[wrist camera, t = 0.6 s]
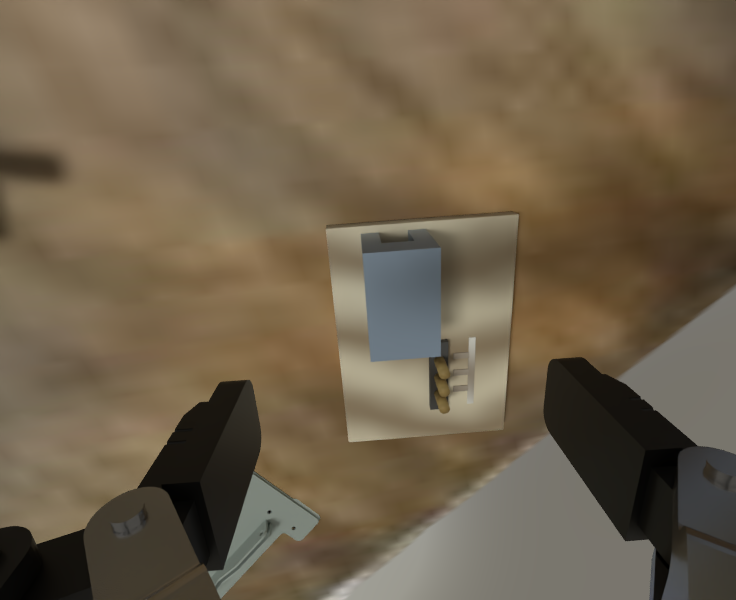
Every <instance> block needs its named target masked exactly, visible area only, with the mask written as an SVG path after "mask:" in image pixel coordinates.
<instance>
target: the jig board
mask: <svg viewBox="0 0 736 600" xmlns="http://www.w3.org/2000/svg"><path fill="white" fill-rule="evenodd" d="M518 219H519V214H517V213H515V212H513V211H510V212H497V213H484V214H470V215H457V216H444V217H431V218H418V219H404V220H391V221H378V222H365V223H352V224H338V225H327V226H326V236H327V245H328V254H329V263H330V273H331V282H332V291H333V300H334V310H335V319H336V328H337V337H338V346H339V356H340V365H341V374H342V383H343V393H344V402H345V411H346V420H347V430H348V439H349V442H357V441H369V440H382V439H394V438H406V437H419V436H431V435H443V434H456V433H468V432H480V431H493V430H503V427H504V413H505V399H506V385H507V371H508V358H509V344H510V330H511V316H512V302H513V288H514V274H515V260H516V247H517V233H518ZM417 229H426V230H427V231H428V232H429V234H430V235H431V236H432V237H433V239H434V240H435V241H436V242H437V243H438V245H439V246H440V247H441V357H428V358H416V359H403V360H390V361H378V362H371V359H370V348H369V336H368V324H367V311H366V298H365V285H364V272H363V258H362V245H361V234H364V233H377V232H378V233H379V236H380V240H381V243H391V242H404V241H408V230H417Z"/></svg>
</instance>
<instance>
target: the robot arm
mask: <svg viewBox="0 0 736 600" xmlns="http://www.w3.org/2000/svg"><path fill="white" fill-rule="evenodd" d="M544 419H545V423H546V426H547V429H548V431H549V432H550V434H551V435H552V437H553V438H554V440H555V441H556V442H557V444H558V445H559V447H560V448H561V450H562V451H563V453H564V454H565V455H566V457H567V458H568V459H569V461H570V462H571V464H572V465H573V467H574V468H575V470H576V471H577V473H578V474H579V475H580V477H581V478H582V480H583V481H584V483H585V484H586V485H587V487H588V488H589V490H590V491H591V493H592V494H593V496H594V497H595V498H596V500H597V501H598V503H599V504H600V505H601V507H602V508H603V510H604V511H605V513H606V514H607V515H608V517H609V518H610V520H611V521H612V523H613V524H614V526H615V527H616V529H617V530H618V531H619V533H620V534H621V536H622V537H623V539H624V540H625V541H634V540H646V539H649V540H650V542H651V543H652V544H653V546H654V547H655V549H654V552H653V556H652V564H651V580H650V599H649V600H736V455H735V454H733V453H730V452H727V451H724V450H720V449H716V448H711V447H703V446H702V447H701V446H697V445H696V444H695V443H694V442H693V441H691V440H690V439H689V438H688V437H687V436H686V435H684V434H683V433H682V432H681V431H680V430H679V429H677V428H676V427H675V426H674V425H673V424H672V423H670V422H669V421H668V420H667V419H666V418H664V417H663V416H662V415H661V414H660V413H659V412H658V411H656V410H655V411H654V410H653V407H652V406H651V405H649V404H648V403H647V402H646V401H645V400H641V398H640V396H639V395H638V394H637V393H635V392H634V391H633V390H632V389H631V388H630V387H628V386H627V385H626V384H624V383H622V382H620V381H618V380H616V379H614V378H612V377H610V376H608V375H606V374H601V373H600V372H599V371H598V370H597V369H596V368H594V367H593V366H592V365H591V364H590V363H589V362H588V361H587V360H586V359H584V358H582V357H575V358H561V359H552V360H551V361H550V363H549V365H548V372H547V381H546V390H545V400H544ZM260 447H261V428H260V422H259V417H258V411H257V406H256V401H255V395H254V390H253V386H252V383H251V381H250V380H241V381H226V382H220V383H219V384H218V386H217V388H216V390H215V391H214V393H213V395H212V396H211V398H210V400H209V402H200V403H198V404H197V405H196V406H195V407H193V408H192V409H191V410H190V411H189V412H187V413H186V414H185V415H184V416H183V418H182V419H181V421H180V422H179V424H178V425H177V427H176V428H175V432H173V433H172V435H171V436H170V438H169V439H168V441H167V445H165V446H164V447H163V449H162V450H161V452H160V453H159V455H158V457H157V458H156V460H155V461H154V463H153V464H152V466H151V468H150V469H149V471H148V472H147V474H146V475H145V477H144V479H143V480H142V482H141V483H140V485H139V486H138V488H137V489H134V490H131V491H128V492H126V493H123V494H121V495H119V496H117V497H115V498H114V499H112V500H111V501H109V502H108V503H106V504H105V505H104V506H103V507H101V508H100V509H99V510H98V511H97V512H96V513H95V514H94V516H93V517H92V518H91V519H90V521H89V522H88V524H87V526H86V528H85V529H83V530H80V531H77V532H74V533H71V534H68V535H64V536H61V537H58V538H55V539H52V540H49V541H46V542H43V543H39V544H36V543H35V541H34V539H33V536H32V534H31V532H30V531H29V530H28V529H27V528H24V527H19V526H11V527H5V528H1V529H0V600H221V598H220V596H219V594H218V592H217V590H216V588H215V585H214V583H213V581H212V579H211V577H210V575H209V573H208V571H217V570H223V569H224V566H225V562H226V559H227V556H228V553H229V549H230V546H231V543H232V540H233V537H234V533H235V530H236V527H237V524H238V520H239V517H240V514H241V511H242V507H243V504H244V501H245V498H246V495H247V491H248V488H249V485H250V482H251V478H252V475H253V472H254V469H255V466H256V462H257V459H258V456H259V452H260Z"/></svg>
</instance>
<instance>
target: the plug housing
mask: <svg viewBox="0 0 736 600" xmlns="http://www.w3.org/2000/svg"><path fill="white" fill-rule="evenodd" d="M361 245H362V258H363V272H364V285H365V298H366V311H367V324H368V336H369V348H370V359H371V362H378V361H390V360H403V359H416V358H428V357H441V247H440V246H439V245H438V243H437V242H436V241H435V240H434V239H433V237H432V236H431V235H430V234H429V232H428V231H427V230H426V229H417V230H408V241H404V242H391V243H381V240H380V236H379V233H378V232H377V233H364V234H361Z"/></svg>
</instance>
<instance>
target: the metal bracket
mask: <svg viewBox="0 0 736 600" xmlns="http://www.w3.org/2000/svg"><path fill="white" fill-rule="evenodd" d="M269 510H271V512H270V513H268V511H269ZM319 519H320V516H319V515H318V514H317V513H315V512H314V511H313V510H311V509H310V508H308V507H307V506H306V505H304V504H303V503H301V502H300V501H299V500H297V499H293V498H291V497H290V496H288V495H287V494H285V493H284V492H283V491H281V490H280V489H278V488H277V487H275V486H274V485H273V484H271V483H270V482H268V481H267V480H266V479H264V478H263V477H261V476H260V475H258V474H257V473H256V472H253V475H252V478H251V482H250V485H249V488H248V491H247V495H246V498H245V501H244V504H243V507H242V511H241V514H240V517H239V520H238V524H237V527H236V530H235V533H234V537H233V540H232V543H231V546H230V549H229V553H228V556H227V559H226V562H225V566H224V569H223V570H217V571H208V573H209V575H210V577H211V579H212V581H213V583H214V585H215V588H216V590H217V592H218V594H219V596H220V598H222V597H223V596H224V595H225V593H226V592H227V591H228V590H229V589H230V588H231V587H232V586H233V585H234V584H235V583H236V582H237V581H238V580H239V578H240V577H241V576H242V575H243V574H244V573H245V572H246V571H247V570H248V569H249V568H250V567H251V566H252V564H253V563H254V562H255V561H256V560H257V559H258V558H259V557H260V556H261V555H262V554H263V553H264V552H265V551H266V549H267V548H268V547H269V546H270V545H271V544H272V543H273V542H274V541H275V540H276V539H277V538H278V537H279V536H280V534H282V533H286V534H287V535H289V536H290V537H292V538H294V539H295V540H297V541H301V540H302V539H303V538H304V537H305V536H306V535H307V534H308V533H309V532H310V531H311V530H312V529H313V528H314V526H315V525H316V524H317V523H318V521H319ZM292 527H295V528H294V529H292Z"/></svg>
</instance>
